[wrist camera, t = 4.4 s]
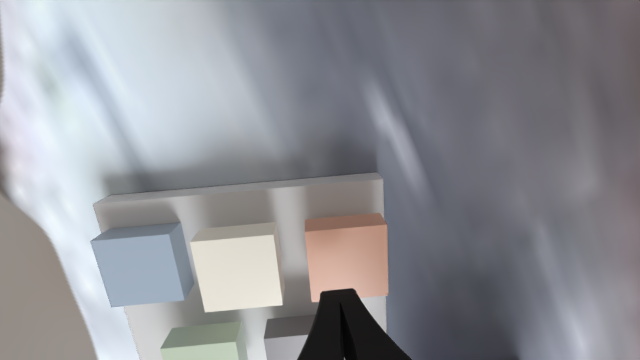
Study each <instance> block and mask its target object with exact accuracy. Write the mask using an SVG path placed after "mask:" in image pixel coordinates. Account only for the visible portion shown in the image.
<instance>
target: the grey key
mask: <svg viewBox="0 0 640 360" xmlns="http://www.w3.org/2000/svg"><path fill="white" fill-rule="evenodd" d="M315 316H316V314H314V315H304V316H293V317H283V318H272V319H267V323H266V328H265V334H264V345H265V351H266V357H267V360H297V358H298V356H299V354H300V352H301V350H302V348H303V346H304V344H305V341H306V339H307V337H308V335H309V332H310V330H311V327H312V324H313V321H314V318H315Z"/></svg>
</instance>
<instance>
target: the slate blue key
mask: <svg viewBox="0 0 640 360" xmlns="http://www.w3.org/2000/svg"><path fill="white" fill-rule="evenodd" d="M90 242H91V245H92V248H93V251H94V255H95V258H96V261H97V264H98V267H99V270H100V273H101V277H102V280H103V283H104V286H105V289H106V292H107V296H108V299H109V302H110V305H111V307H119V306H130V305H140V304H151V303H162V302H173V301H183V300H185V299H186V297H187V295H188V294H189V292H190V290H191V289H192V287H193V285H194V280H193V275H192V271H191V266H190V262H189V257H188V253H187V248H186V244H185V239H184V235H183V230H182V226H181V222H179V223H168V224H157V225H145V226H134V227H123V228H111V229H108V230H106V231H105V232H103V233H102V234H100V235H99V236H97V237H96V238H94V239H93V240H91V241H90Z"/></svg>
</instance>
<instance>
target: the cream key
mask: <svg viewBox="0 0 640 360" xmlns="http://www.w3.org/2000/svg"><path fill="white" fill-rule="evenodd" d="M190 245H191V250H192V255H193V259H194V264H195V268H196V273H197V278H198V282H199V287H200V291H201V296H202V301H203V305H204V310H205V312H215V311H226V310H236V309H247V308H258V307H268V306H279V305H283V299H284V290H285V284H284V277H283V269H282V261H281V253H280V245H279V237H278V230H277V222H271V223H260V224H249V225H238V226H226V227H215V228H204V229H200V230H199V231H198V233H197V234H196V235H195V236H194V238H193V239H192V240H191V241H190Z"/></svg>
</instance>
